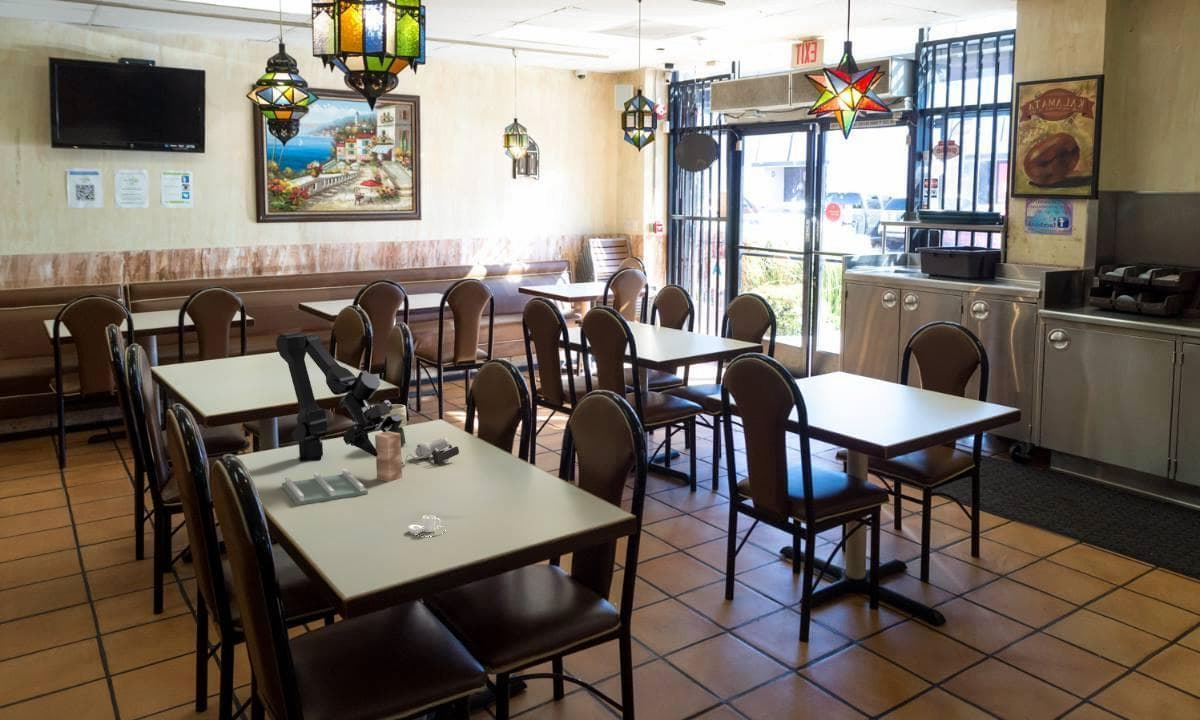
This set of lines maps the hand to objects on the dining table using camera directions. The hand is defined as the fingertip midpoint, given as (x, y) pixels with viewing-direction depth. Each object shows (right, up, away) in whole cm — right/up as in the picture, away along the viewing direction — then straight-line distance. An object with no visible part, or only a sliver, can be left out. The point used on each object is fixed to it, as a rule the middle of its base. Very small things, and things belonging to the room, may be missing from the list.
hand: (388, 452), depth 272 cm
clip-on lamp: (+7, -5, +18) cm, 20 cm away
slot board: (-16, -10, -10) cm, 21 cm away
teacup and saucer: (+17, -16, -37) cm, 44 cm away
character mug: (-5, -2, +35) cm, 35 cm away
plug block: (0, -8, +2) cm, 8 cm away
